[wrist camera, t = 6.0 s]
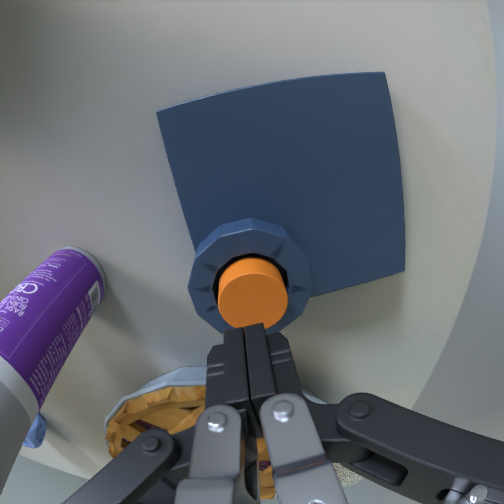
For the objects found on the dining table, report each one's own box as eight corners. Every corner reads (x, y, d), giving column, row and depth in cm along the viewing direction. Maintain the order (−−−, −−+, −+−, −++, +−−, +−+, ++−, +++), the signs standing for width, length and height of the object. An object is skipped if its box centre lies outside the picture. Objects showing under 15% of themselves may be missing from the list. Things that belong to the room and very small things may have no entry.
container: (77, 232, 17) (-89, 408, 3) (120, 289, 18) (20, 503, 4) (38, 266, 17) (-91, 419, 3) (78, 317, 19) (-14, 491, 5)
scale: (212, 312, 19) (209, 346, 16) (153, 115, 14) (133, 112, 11) (393, 267, 19) (418, 292, 16) (371, 75, 14) (402, 66, 11)
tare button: (228, 317, 16) (228, 338, 14) (211, 264, 15) (209, 281, 13) (287, 304, 16) (293, 323, 14) (276, 249, 14) (281, 265, 13)
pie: (383, 387, 24) (403, 427, 19) (265, 483, 31) (268, 514, 26) (146, 303, 19) (126, 353, 14) (98, 440, 25) (88, 474, 21)
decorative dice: (22, 416, 24) (11, 438, 21) (15, 398, 23) (3, 422, 19) (48, 429, 25) (38, 453, 21) (43, 413, 24) (31, 438, 20)
